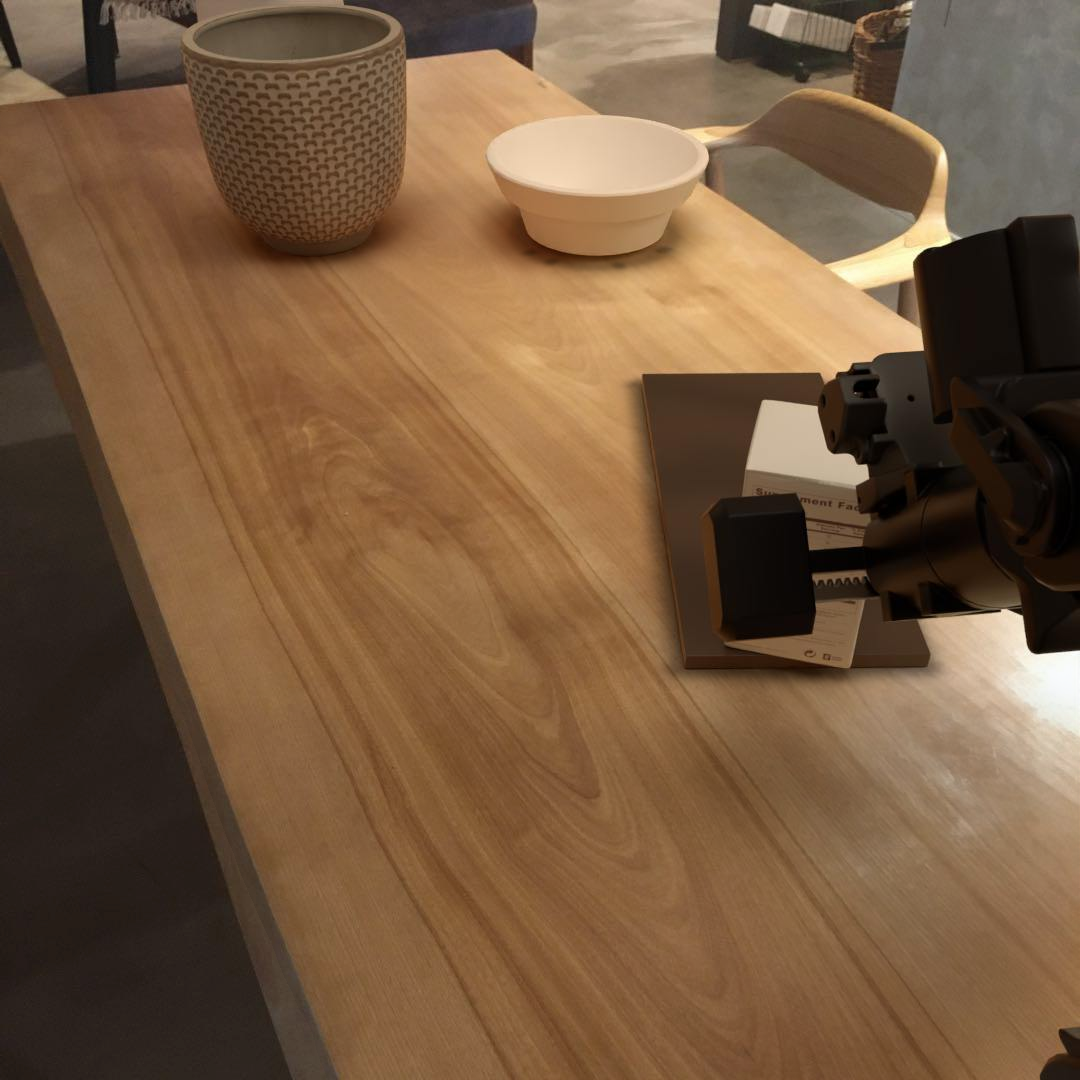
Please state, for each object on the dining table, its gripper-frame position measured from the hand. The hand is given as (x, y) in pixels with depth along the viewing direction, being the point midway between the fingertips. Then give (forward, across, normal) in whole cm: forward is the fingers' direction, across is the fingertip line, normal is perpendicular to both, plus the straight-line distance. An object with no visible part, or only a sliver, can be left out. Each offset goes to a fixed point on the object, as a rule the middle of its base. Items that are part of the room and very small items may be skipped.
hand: (853, 574), depth 60 cm
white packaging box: (+10, +1, +2) cm, 10 cm away
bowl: (+52, +3, -39) cm, 65 cm away
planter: (+54, +30, -41) cm, 74 cm away
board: (+19, -1, -7) cm, 21 cm away
